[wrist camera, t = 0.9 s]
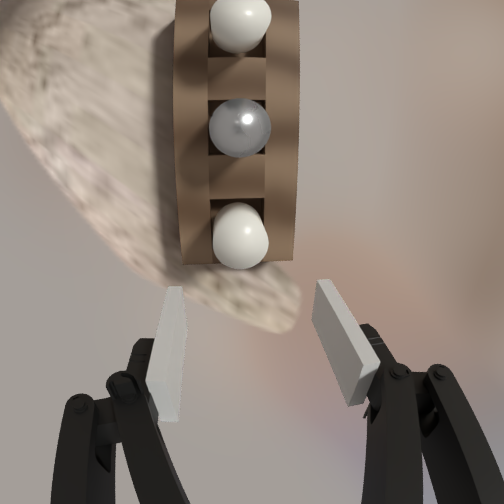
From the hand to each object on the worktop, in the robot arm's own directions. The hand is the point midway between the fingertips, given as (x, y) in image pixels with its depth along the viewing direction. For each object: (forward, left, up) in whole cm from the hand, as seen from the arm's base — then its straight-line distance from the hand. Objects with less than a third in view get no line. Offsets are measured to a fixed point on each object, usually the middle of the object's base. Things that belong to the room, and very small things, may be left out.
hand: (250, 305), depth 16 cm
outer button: (0, 0, -13) cm, 13 cm away
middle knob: (-9, 0, -13) cm, 16 cm away
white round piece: (-18, 0, -13) cm, 22 cm away
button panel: (-9, 0, -17) cm, 19 cm away
